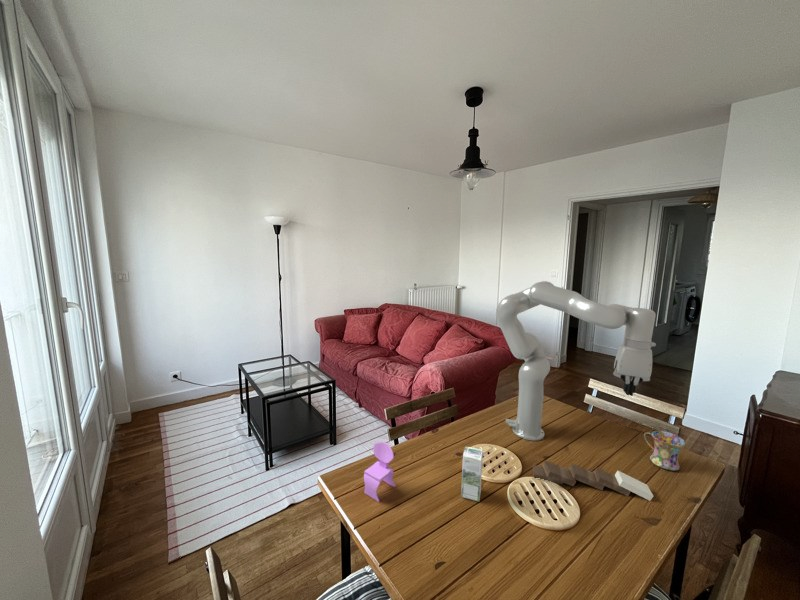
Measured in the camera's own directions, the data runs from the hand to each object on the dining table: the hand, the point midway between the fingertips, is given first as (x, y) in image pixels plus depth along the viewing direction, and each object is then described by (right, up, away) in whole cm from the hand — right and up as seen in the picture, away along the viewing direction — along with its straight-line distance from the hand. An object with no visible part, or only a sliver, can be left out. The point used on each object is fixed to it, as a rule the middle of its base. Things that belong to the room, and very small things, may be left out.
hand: (628, 393), depth 114 cm
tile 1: (-7, -28, -10) cm, 30 cm away
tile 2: (-14, -27, -7) cm, 32 cm away
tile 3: (-23, -26, -6) cm, 36 cm away
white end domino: (-2, -28, -12) cm, 30 cm away
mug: (+15, -27, +5) cm, 31 cm away
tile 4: (-26, -27, -5) cm, 38 cm away
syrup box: (-58, -29, -12) cm, 66 cm away
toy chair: (-87, -28, -10) cm, 92 cm away
